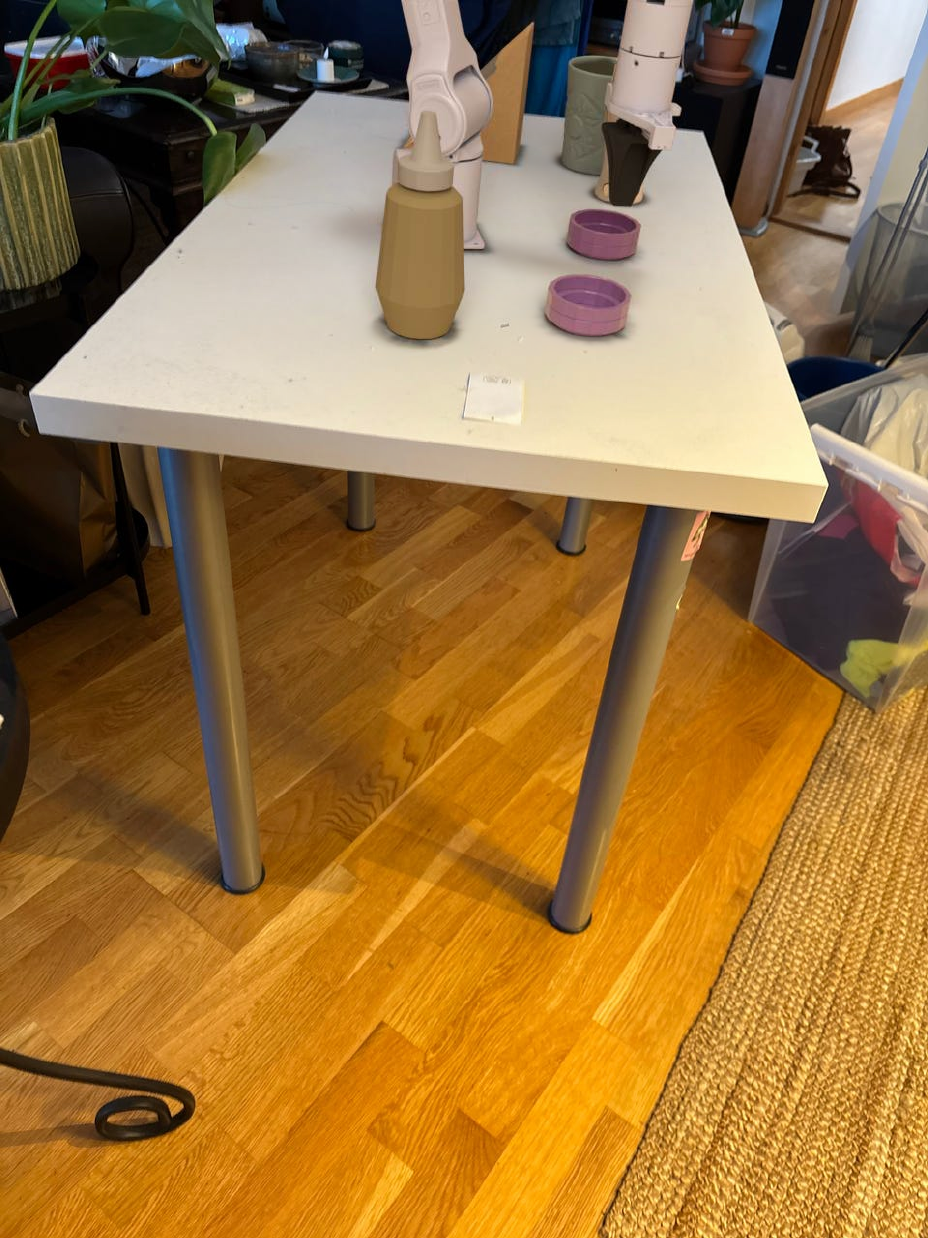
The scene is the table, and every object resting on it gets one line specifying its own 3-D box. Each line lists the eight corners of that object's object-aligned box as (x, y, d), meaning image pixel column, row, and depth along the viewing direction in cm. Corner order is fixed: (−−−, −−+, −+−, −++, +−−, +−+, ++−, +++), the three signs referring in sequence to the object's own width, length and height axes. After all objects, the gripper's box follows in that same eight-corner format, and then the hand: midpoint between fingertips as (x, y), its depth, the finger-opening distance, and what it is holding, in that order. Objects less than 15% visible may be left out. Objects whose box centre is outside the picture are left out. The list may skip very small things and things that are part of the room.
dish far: (576, 262, 99) (581, 234, 97) (558, 235, 104) (562, 208, 102) (644, 263, 100) (650, 235, 98) (622, 235, 106) (628, 209, 104)
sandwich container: (413, 131, 129) (418, 6, 119) (520, 145, 128) (534, 20, 118) (401, 149, 123) (405, 18, 112) (513, 164, 122) (528, 34, 112)
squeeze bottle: (414, 299, 89) (423, 93, 76) (479, 328, 85) (499, 116, 73) (356, 324, 84) (356, 108, 72) (422, 355, 80) (434, 134, 68)
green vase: (627, 158, 128) (646, 60, 120) (629, 181, 120) (649, 79, 112) (556, 149, 128) (569, 51, 120) (553, 172, 121) (568, 69, 113)
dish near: (556, 340, 85) (561, 309, 83) (536, 303, 90) (540, 273, 88) (635, 339, 86) (641, 309, 84) (610, 303, 92) (616, 274, 90)
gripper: (721, 73, 79) (682, 231, 89) (664, 34, 89) (634, 180, 99) (645, 69, 78) (613, 230, 87) (596, 30, 88) (572, 178, 97)
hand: (620, 203), depth 93 cm, fingers closed
